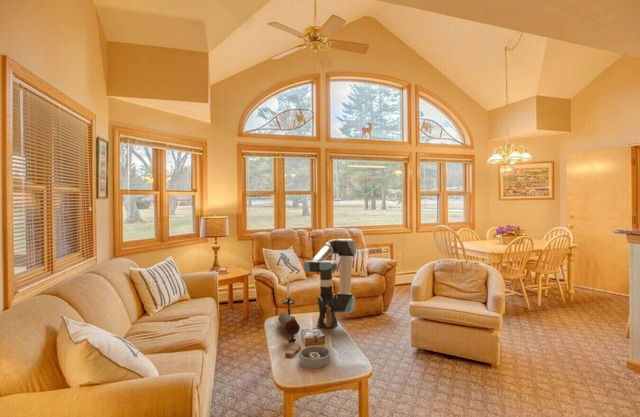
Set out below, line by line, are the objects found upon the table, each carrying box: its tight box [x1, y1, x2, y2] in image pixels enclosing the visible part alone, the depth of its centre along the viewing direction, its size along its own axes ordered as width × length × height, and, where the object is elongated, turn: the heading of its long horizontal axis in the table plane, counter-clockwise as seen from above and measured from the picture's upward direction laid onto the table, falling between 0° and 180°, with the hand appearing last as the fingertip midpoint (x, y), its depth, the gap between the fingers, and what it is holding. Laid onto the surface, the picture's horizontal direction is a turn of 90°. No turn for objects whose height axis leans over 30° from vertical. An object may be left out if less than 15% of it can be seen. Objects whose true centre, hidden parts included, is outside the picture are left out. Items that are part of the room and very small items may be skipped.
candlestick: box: [281, 276, 296, 320], centre depth 267 cm, size 11×11×35 cm
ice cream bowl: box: [283, 318, 301, 343], centre depth 225 cm, size 11×11×15 cm
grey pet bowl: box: [298, 345, 331, 369], centre depth 196 cm, size 18×18×5 cm
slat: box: [284, 344, 302, 359], centre depth 208 cm, size 12×5×2 cm, turn 159°
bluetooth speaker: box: [278, 312, 292, 329], centre depth 245 cm, size 23×9×10 cm, turn 21°
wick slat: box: [324, 305, 331, 327], centre depth 212 cm, size 2×5×12 cm, turn 23°
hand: (327, 322), depth 212 cm, fingers closed on wick slat, 2 cm apart
